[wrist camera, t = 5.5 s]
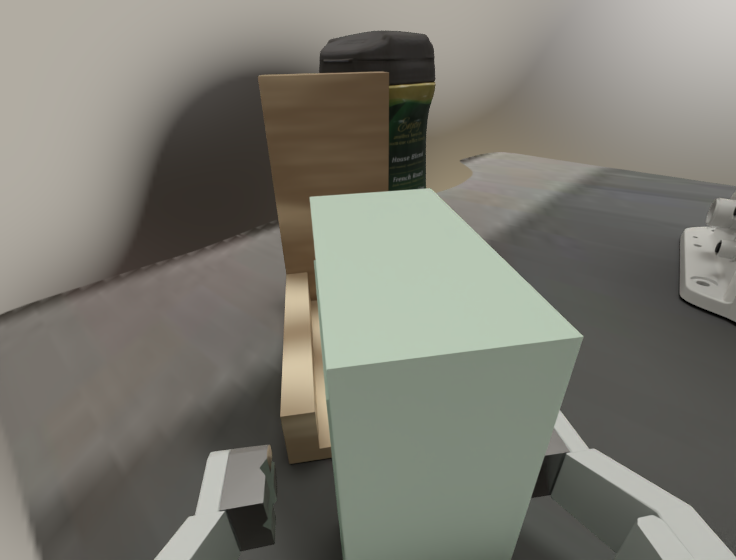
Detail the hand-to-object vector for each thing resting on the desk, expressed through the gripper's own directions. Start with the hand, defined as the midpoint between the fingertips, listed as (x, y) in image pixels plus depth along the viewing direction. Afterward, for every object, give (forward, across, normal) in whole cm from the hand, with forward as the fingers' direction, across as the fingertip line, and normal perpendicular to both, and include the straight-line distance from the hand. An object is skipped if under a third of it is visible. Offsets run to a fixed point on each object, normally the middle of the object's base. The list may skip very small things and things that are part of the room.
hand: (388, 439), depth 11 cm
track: (+13, 0, +7) cm, 15 cm away
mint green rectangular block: (-1, 0, +8) cm, 8 cm away
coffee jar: (+28, -5, +8) cm, 30 cm away
